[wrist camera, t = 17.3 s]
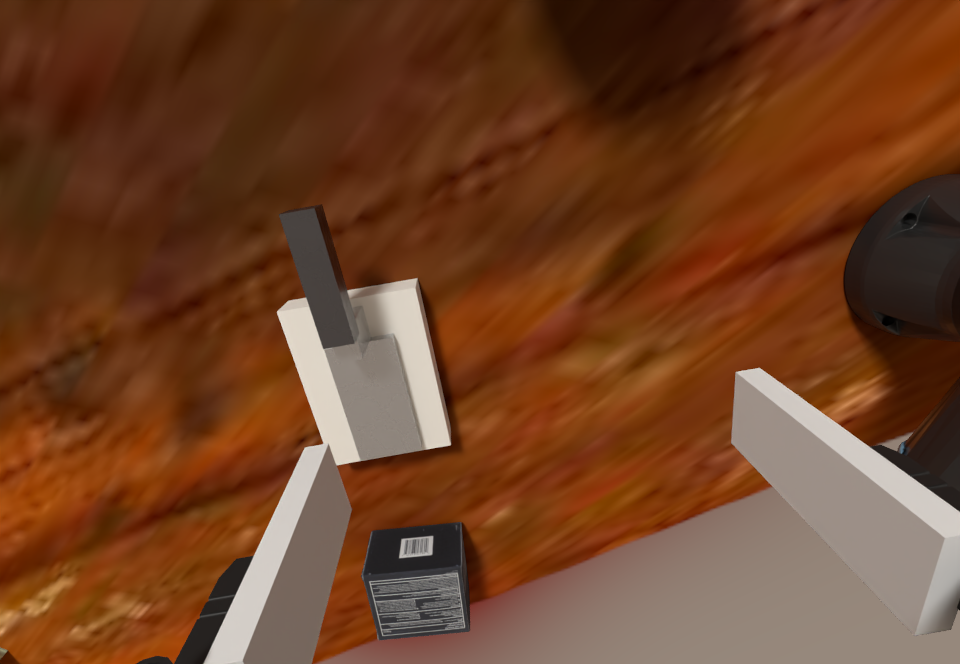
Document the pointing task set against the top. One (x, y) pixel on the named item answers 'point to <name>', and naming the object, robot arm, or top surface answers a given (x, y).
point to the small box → (417, 581)
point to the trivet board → (385, 314)
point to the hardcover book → (2, 652)
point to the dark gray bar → (352, 344)
